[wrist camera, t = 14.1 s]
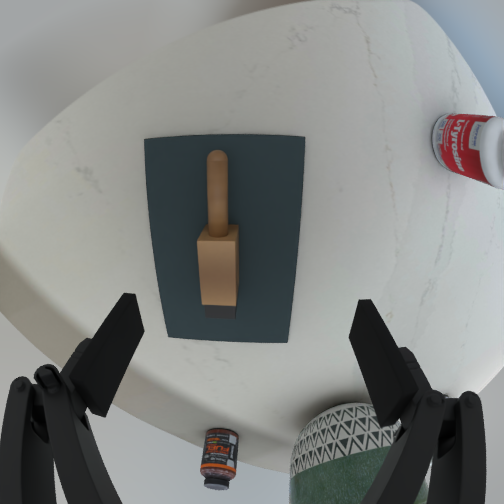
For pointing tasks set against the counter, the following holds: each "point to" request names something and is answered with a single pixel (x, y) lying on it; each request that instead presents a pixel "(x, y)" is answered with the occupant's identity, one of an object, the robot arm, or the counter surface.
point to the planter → (341, 456)
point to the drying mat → (239, 213)
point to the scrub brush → (218, 245)
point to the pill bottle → (471, 146)
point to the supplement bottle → (219, 458)
